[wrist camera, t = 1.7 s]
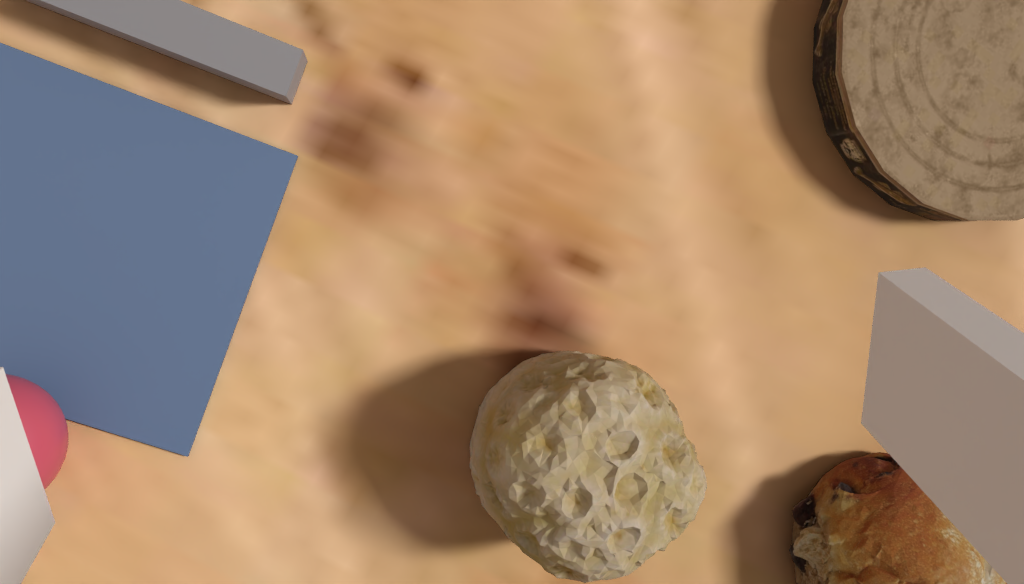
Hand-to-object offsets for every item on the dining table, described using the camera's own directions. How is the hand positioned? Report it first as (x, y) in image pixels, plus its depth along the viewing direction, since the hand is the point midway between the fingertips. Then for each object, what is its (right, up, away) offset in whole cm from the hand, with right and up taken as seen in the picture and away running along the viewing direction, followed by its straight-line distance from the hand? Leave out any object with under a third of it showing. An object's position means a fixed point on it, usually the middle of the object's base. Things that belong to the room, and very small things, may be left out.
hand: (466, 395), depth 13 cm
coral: (+3, -5, +28) cm, 29 cm away
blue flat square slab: (-18, +3, +24) cm, 30 cm away
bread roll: (+19, -11, +31) cm, 38 cm away
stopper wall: (-14, +13, +23) cm, 30 cm away
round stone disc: (+23, +13, +30) cm, 40 cm away
